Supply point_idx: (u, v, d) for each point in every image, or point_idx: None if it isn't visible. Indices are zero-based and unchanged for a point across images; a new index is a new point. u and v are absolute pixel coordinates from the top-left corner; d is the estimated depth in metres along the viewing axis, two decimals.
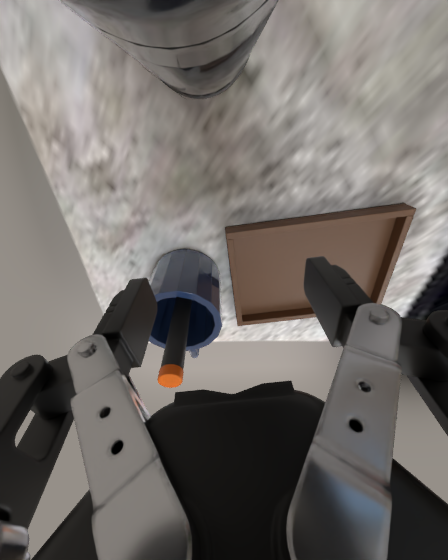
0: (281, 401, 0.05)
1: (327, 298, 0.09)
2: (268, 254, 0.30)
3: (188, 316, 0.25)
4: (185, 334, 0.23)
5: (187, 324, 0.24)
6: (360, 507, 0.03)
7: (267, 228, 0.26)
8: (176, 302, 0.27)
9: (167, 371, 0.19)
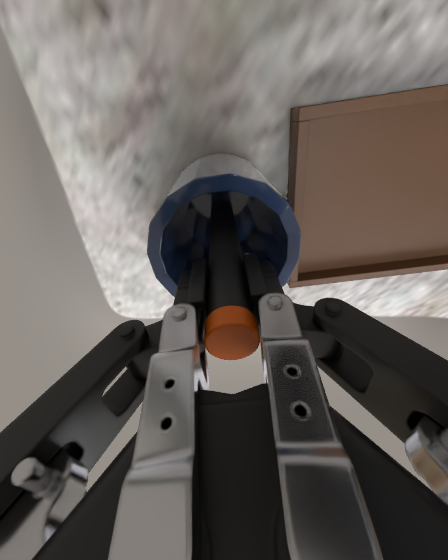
0: None
1: (248, 289, 0.10)
2: (353, 163, 0.19)
3: (239, 244, 0.14)
4: (243, 266, 0.12)
5: (241, 253, 0.13)
6: (336, 487, 0.04)
7: (371, 96, 0.15)
8: (214, 226, 0.16)
9: (229, 318, 0.08)
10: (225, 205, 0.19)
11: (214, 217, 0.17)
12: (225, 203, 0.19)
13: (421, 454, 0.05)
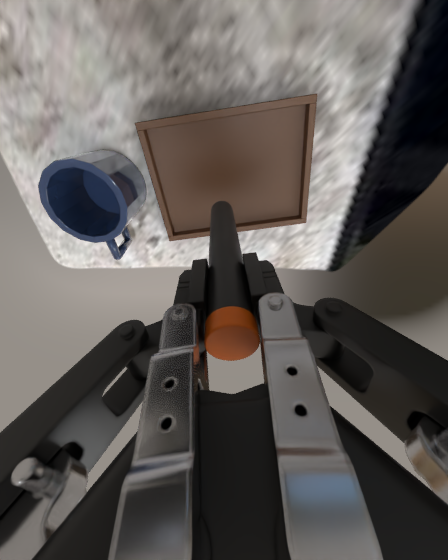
0: None
1: (248, 289, 0.10)
2: (187, 155, 0.30)
3: (239, 245, 0.14)
4: (243, 266, 0.12)
5: (241, 254, 0.13)
6: (335, 487, 0.04)
7: None
8: (214, 227, 0.16)
9: (229, 319, 0.08)
10: (225, 206, 0.19)
11: (214, 218, 0.17)
12: (225, 204, 0.19)
13: (421, 454, 0.05)
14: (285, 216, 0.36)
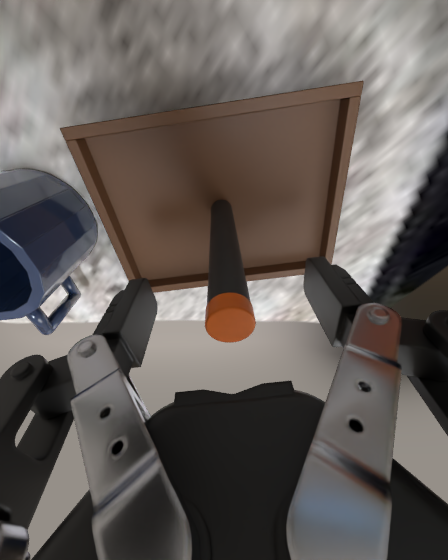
0: (281, 401, 0.05)
1: (327, 298, 0.09)
2: (153, 178, 0.20)
3: (237, 240, 0.15)
4: (241, 259, 0.13)
5: (239, 248, 0.14)
6: (360, 507, 0.03)
7: (124, 118, 0.16)
8: (214, 224, 0.17)
9: (227, 303, 0.09)
10: (225, 204, 0.20)
11: (214, 215, 0.18)
12: (225, 202, 0.20)
13: None
14: (300, 260, 0.25)
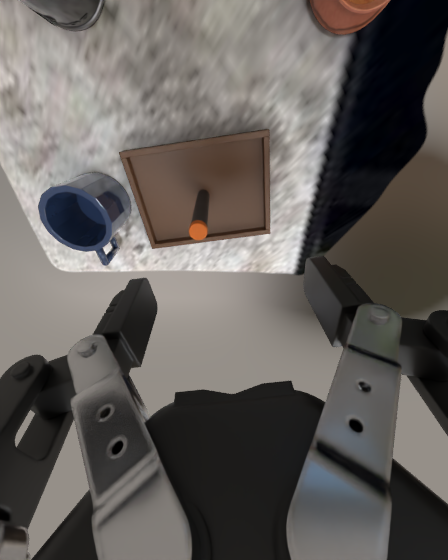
0: (281, 401, 0.05)
1: (327, 298, 0.09)
2: (164, 177, 0.36)
3: (207, 207, 0.31)
4: (207, 213, 0.29)
5: (207, 210, 0.30)
6: (360, 507, 0.03)
7: (151, 147, 0.32)
8: (197, 201, 0.33)
9: (196, 222, 0.25)
10: (204, 192, 0.36)
11: (197, 197, 0.34)
12: (204, 191, 0.36)
13: None
14: (253, 227, 0.41)
